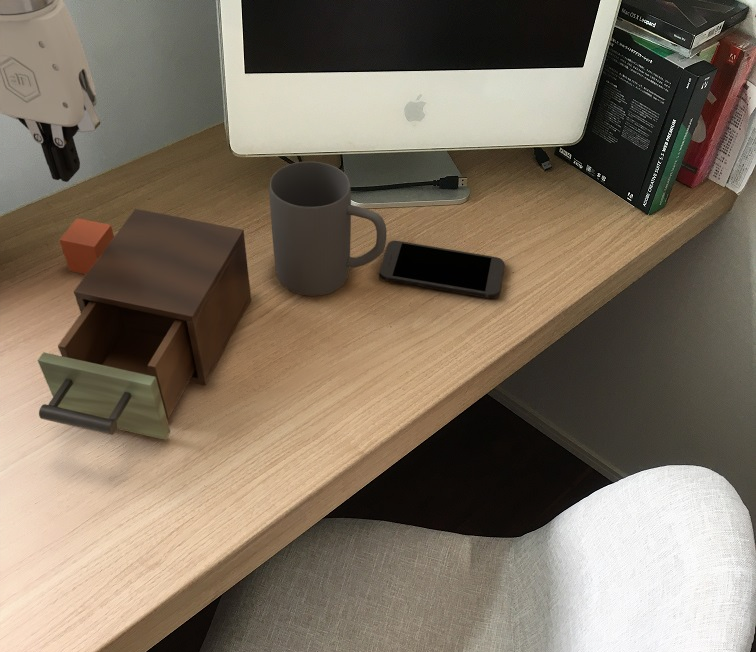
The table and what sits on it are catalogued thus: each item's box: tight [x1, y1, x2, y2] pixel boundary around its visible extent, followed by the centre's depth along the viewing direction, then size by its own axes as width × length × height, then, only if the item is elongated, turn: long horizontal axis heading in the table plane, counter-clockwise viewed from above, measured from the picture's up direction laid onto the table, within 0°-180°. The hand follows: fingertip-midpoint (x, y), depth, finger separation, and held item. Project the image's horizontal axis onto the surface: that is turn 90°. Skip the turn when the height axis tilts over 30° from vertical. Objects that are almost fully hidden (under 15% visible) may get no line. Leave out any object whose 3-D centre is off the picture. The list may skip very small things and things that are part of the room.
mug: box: [269, 161, 387, 297], centre depth 91 cm, size 14×9×12 cm
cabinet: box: [73, 208, 252, 386], centre depth 85 cm, size 15×13×10 cm
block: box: [59, 217, 115, 275], centre depth 94 cm, size 4×4×4 cm
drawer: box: [37, 301, 196, 441], centre depth 78 cm, size 18×11×8 cm, turn 166°
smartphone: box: [378, 240, 506, 299], centre depth 97 cm, size 7×15×1 cm, turn 79°
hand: (66, 173), depth 85 cm, fingers closed
